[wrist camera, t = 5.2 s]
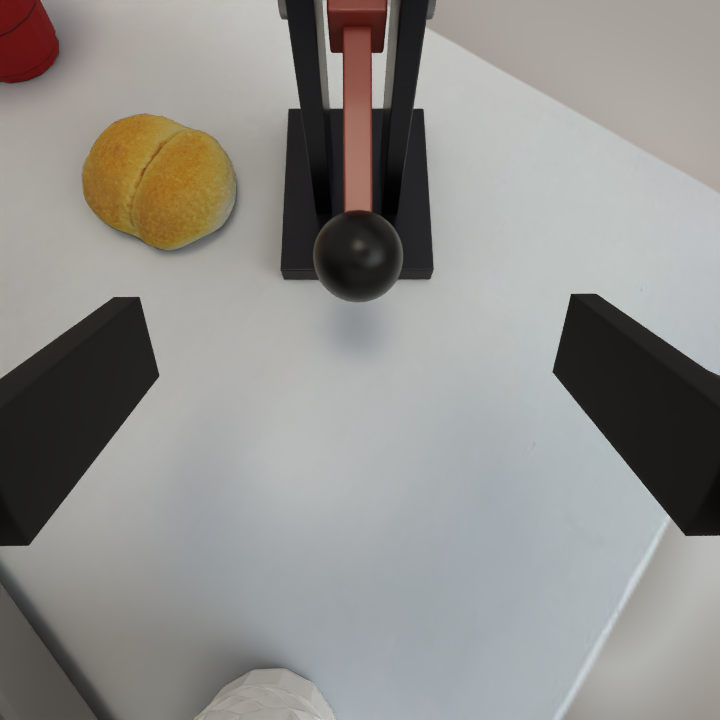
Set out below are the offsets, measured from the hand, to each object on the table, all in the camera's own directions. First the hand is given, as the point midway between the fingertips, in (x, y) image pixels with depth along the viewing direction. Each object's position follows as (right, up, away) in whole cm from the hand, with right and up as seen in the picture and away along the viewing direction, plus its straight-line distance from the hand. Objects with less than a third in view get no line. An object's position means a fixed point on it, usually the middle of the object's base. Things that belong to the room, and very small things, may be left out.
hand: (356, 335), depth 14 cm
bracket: (0, +10, +15) cm, 18 cm away
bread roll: (-12, +10, +15) cm, 22 cm away
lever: (0, +8, +5) cm, 10 cm away
